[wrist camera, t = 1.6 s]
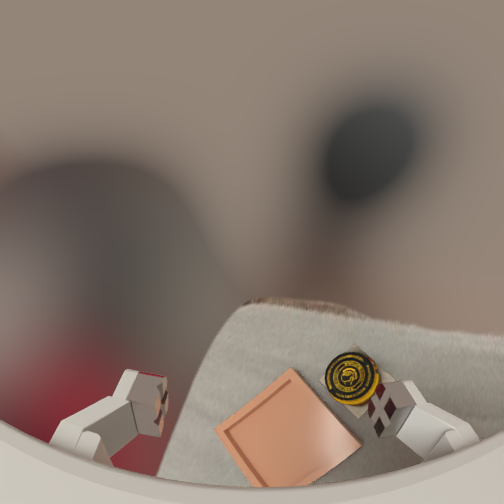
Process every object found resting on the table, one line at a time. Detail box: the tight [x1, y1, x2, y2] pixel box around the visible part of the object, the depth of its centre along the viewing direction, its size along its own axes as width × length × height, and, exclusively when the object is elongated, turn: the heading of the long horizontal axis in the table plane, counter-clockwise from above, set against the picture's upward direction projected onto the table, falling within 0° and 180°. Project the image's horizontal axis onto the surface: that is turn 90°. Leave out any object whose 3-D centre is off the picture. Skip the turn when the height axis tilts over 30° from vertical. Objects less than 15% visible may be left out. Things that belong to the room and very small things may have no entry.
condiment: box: [319, 344, 396, 419], centre depth 32 cm, size 7×8×12 cm
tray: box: [214, 367, 363, 487], centre depth 34 cm, size 15×15×2 cm
